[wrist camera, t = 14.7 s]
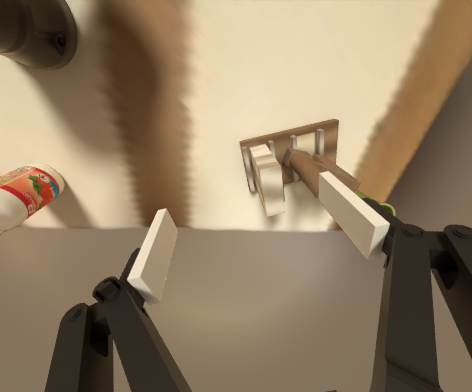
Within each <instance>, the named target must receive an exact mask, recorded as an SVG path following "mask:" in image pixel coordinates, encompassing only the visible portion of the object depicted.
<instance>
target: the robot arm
mask: <svg viewBox="0 0 472 392" xmlns="http://www.w3.org/2000/svg"><path fill="white" fill-rule="evenodd" d="M76 45H77V34H76V27H75V23H74V20H73V17H72V14H71V12H70V9H69V7H68V5H67V3H66V1H65V0H0V55H3V56H5V57H7V58H9V59H12V60H14V61H16V62H18V63H20V64H23V65H26V66H29V67H33V68H39V69H56V68H60V67H62V66H64V65H66V64H67V63H68V62H69V61H70V60H71V59H72V57H73V55H74V53H75V50H76ZM319 201H320V203H321V204H322V205H323V206H324V208H325V209H326V210H327V211H328V212H329V214H330V215H331V216H332V217H333V219H334V220H335V221H336V222H337V223H338V225H339V226H340V227H341V228H342V230H343V231H344V232H345V233H346V234H347V236H348V237H349V238H350V239H351V241H352V242H353V243H354V244H355V246H356V247H357V248H358V249H359V250H360V252H361V253H362V254H363V255H364V257H365V258H366V259H367V260H370V259H375V258H380V256H381V253H382V251H383V252H384V253H385V254H386V255H387V258H386V261H385V264H384V268H385V272H384V281H383V289H382V298H381V306H380V315H379V324H378V332H377V341H376V350H375V359H374V367H373V376H372V383H371V387H370V391H369V392H443V390H442V389H441V388H440V385H439V381H438V369H437V354H436V340H435V326H434V312H433V299H432V285H431V271H430V269H431V270H432V273H433V275H434V277H435V279H436V281H437V284H438V285H439V288H440V290H441V292H442V295H443V297H444V299H445V301H446V303H447V306H448V308H449V310H450V312H451V314H452V317H453V319H454V321H455V323H456V325H457V328H458V330H459V332H460V334H461V336H462V339H463V341H464V343H465V345H466V347H467V350H468V352H469V354H470V356H471V358H472V228H469V227H466V226H463V225H448V226H446V227H445V228H444V230H443V232H434V231H432V232H431V231H424V230H423V229H421V228H420V227H417V226H415V225H411V224H404V223H402V222H401V221H400V220H399V219H398V218H396V217H395V216H394V215H393V214H391V213H390V212H389V211H387V210H386V209H385V208H384V207H382V206H381V205H380V204H379V203H377V202H376V201H375V200H372V199H370V198H367V197H366V198H361V199H360V198H359V197H358V196H357V195H356V194H355V193H353V192H352V191H351V190H350V189H349V188H348V187H346V186H345V185H344V184H343V183H342V182H341V181H339V180H338V179H337V178H336V177H335V176H334V175H332V174H331V173H330V172H329V171H327V172H323V173H319ZM177 235H178V230H177V228H176V226H175V224H174V222H173V220H172V218H171V216H170V214H169V212H168V210H167V208H165V209H161V210H158V211H157V213H156V216H155V218H154V220H153V222H152V225H151V227H150V229H149V231H148V234H147V236H146V238H145V240H144V243H143V245H142V247H141V248H137V249H136V250H135V251H134V252H133V253H132V254H131V257H130V258H129V260H128V263H127V265H126V267H125V269H124V271H123V273H122V275H121V277H120V279H119V280H118V279H117V278H116V277H108V278H106V279H104V280H103V281H101V282H100V283H99V284H98V285H97V286H96V287H95V289H94V291H93V297H94V298H95V299H96V300H97V301H98V302H97V303H95V304H93V305H91V306H88V305H87V304H85V303H80V304H77V305H75V306H74V307H72V308H71V309H70V310H69V311H68V312H67V313H66V314H65V315H64V316H63V318H62V320H61V322H60V326H59V331H58V335H57V339H56V344H55V348H54V352H53V357H52V361H51V366H50V370H49V374H48V379H47V383H46V387H45V392H113V391H114V389H113V339H114V342H115V345H116V348H117V351H118V354H119V356H120V360H121V363H122V365H123V368H124V371H125V374H126V377H127V380H128V383H129V386H130V389H131V391H132V392H192V391H191V389H190V387H189V385H188V384H187V382H186V380H185V378H184V377H183V375H182V373H181V371H180V369H179V368H178V366H177V364H176V363H175V361H174V359H173V357H172V355H171V354H170V352H169V350H168V349H167V347H166V345H165V343H164V341H163V340H162V338H161V336H160V334H159V333H158V331H157V329H156V327H155V326H154V324H153V322H152V320H151V319H150V317H149V315H148V313H147V312H146V310H145V308H144V307H143V305H144V302H145V301H146V302H147V303H148V304H149V305H152V304H157V303H160V302H161V299H162V295H163V291H164V287H165V283H166V279H167V275H168V271H169V267H170V263H171V259H172V255H173V251H174V247H175V243H176V239H177ZM328 392H336V390H334V391H328Z"/></svg>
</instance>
